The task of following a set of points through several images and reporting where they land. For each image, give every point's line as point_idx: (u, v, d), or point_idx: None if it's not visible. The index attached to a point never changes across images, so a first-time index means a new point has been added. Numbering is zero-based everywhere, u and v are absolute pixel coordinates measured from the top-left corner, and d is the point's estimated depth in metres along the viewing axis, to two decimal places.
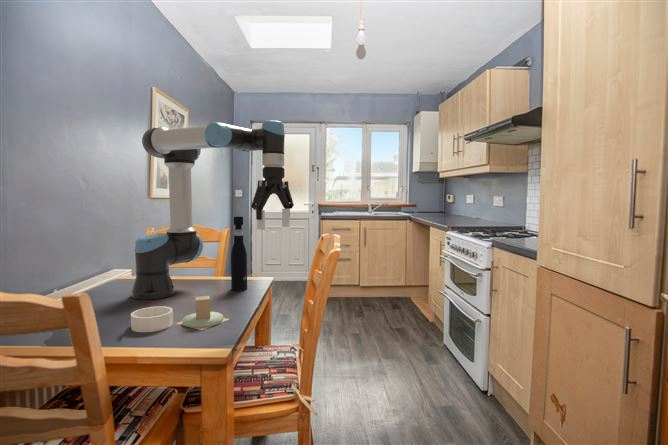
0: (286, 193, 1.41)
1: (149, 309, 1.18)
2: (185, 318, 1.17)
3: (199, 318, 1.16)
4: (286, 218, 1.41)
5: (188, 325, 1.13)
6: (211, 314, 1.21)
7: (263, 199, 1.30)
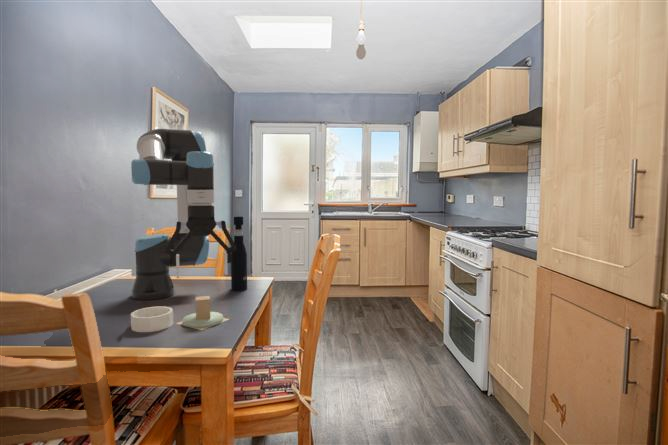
0: (225, 234, 1.18)
1: (149, 309, 1.18)
2: (185, 318, 1.17)
3: (199, 318, 1.16)
4: (224, 264, 1.18)
5: (188, 325, 1.13)
6: (211, 314, 1.21)
7: (179, 243, 1.13)
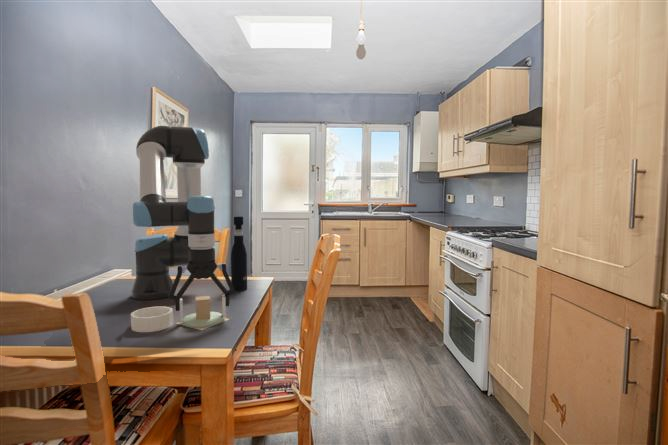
0: None
1: (149, 309, 1.18)
2: (185, 318, 1.17)
3: (199, 318, 1.16)
4: (222, 307, 1.19)
5: (188, 325, 1.13)
6: (211, 314, 1.21)
7: (182, 287, 1.15)
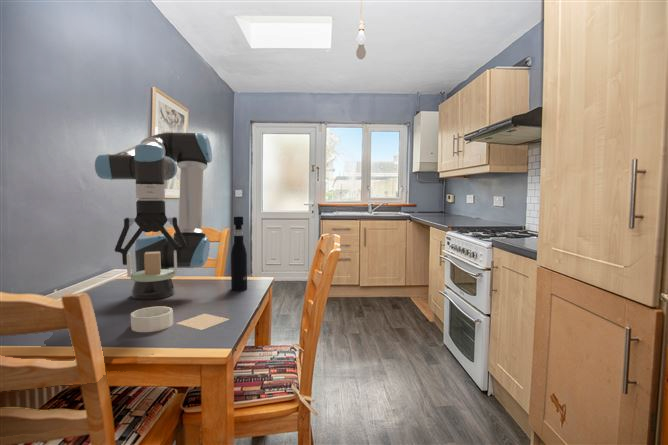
0: (175, 232, 1.14)
1: (149, 309, 1.18)
2: (134, 273, 1.12)
3: (148, 273, 1.11)
4: (174, 263, 1.15)
5: (135, 279, 1.08)
6: (162, 271, 1.16)
7: None
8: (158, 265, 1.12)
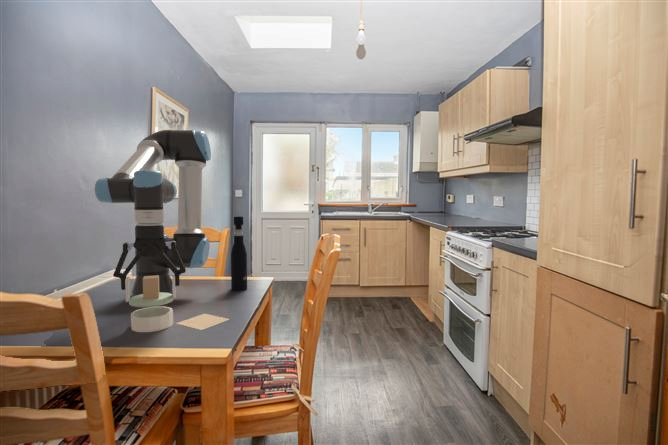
0: (174, 256, 1.15)
1: (149, 309, 1.18)
2: (133, 298, 1.13)
3: (146, 298, 1.11)
4: (172, 287, 1.15)
5: (133, 304, 1.08)
6: (161, 294, 1.16)
7: None
8: (156, 290, 1.12)
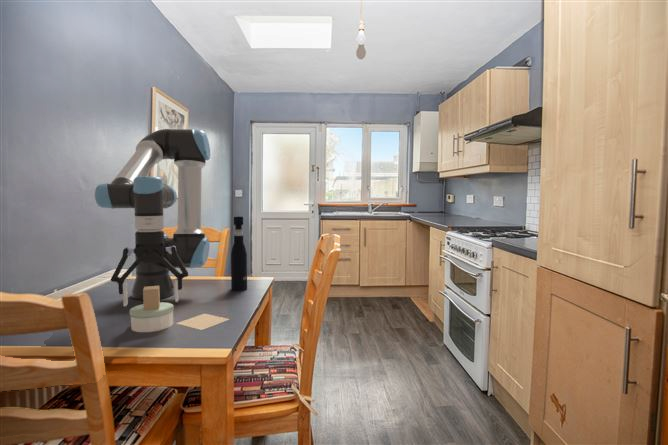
0: (175, 260, 1.15)
1: None
2: (133, 308, 1.13)
3: (147, 308, 1.12)
4: (175, 291, 1.15)
5: (134, 315, 1.09)
6: (161, 305, 1.17)
7: (127, 270, 1.10)
8: (157, 300, 1.12)
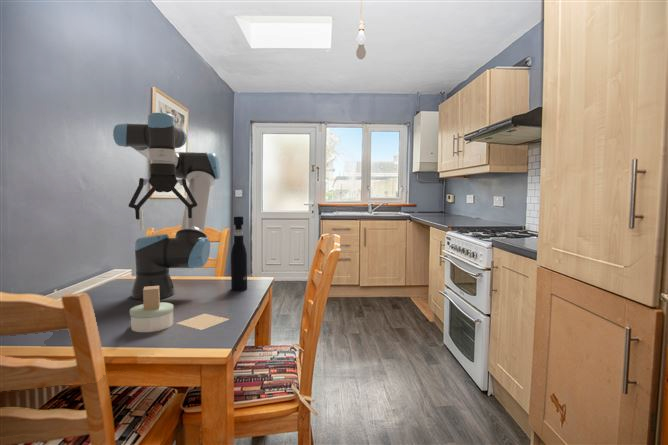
0: (186, 191, 1.27)
1: None
2: (133, 308, 1.13)
3: (147, 308, 1.12)
4: (185, 219, 1.28)
5: (134, 315, 1.09)
6: (161, 305, 1.17)
7: (142, 198, 1.23)
8: (157, 300, 1.12)
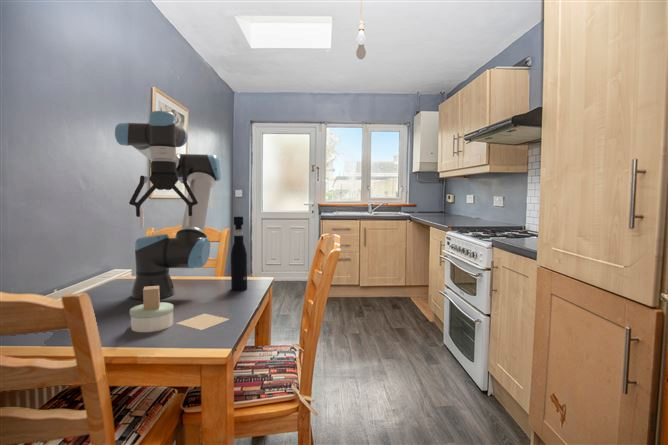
0: (186, 189, 1.28)
1: None
2: (133, 308, 1.13)
3: (147, 308, 1.12)
4: (186, 217, 1.28)
5: (134, 315, 1.09)
6: (161, 305, 1.17)
7: None
8: (157, 300, 1.12)
